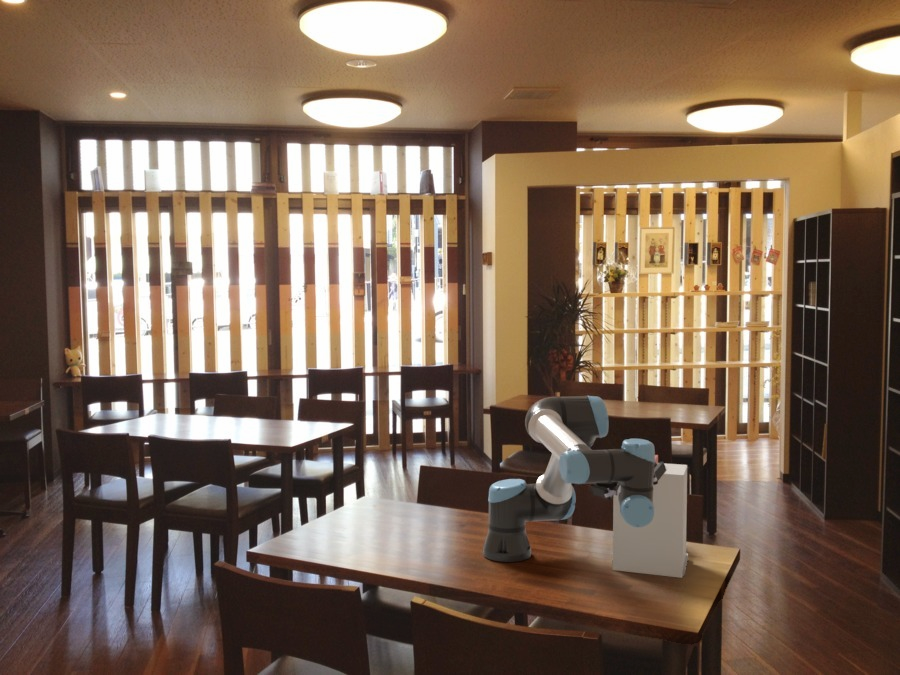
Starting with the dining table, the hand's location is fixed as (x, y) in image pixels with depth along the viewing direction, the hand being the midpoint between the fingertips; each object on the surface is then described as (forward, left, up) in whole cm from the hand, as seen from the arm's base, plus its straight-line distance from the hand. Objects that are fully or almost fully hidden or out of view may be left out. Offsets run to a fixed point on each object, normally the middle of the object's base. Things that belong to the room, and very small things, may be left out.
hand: (625, 470), depth 219 cm
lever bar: (-9, +18, -4) cm, 20 cm away
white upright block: (-13, +22, -34) cm, 43 cm away
